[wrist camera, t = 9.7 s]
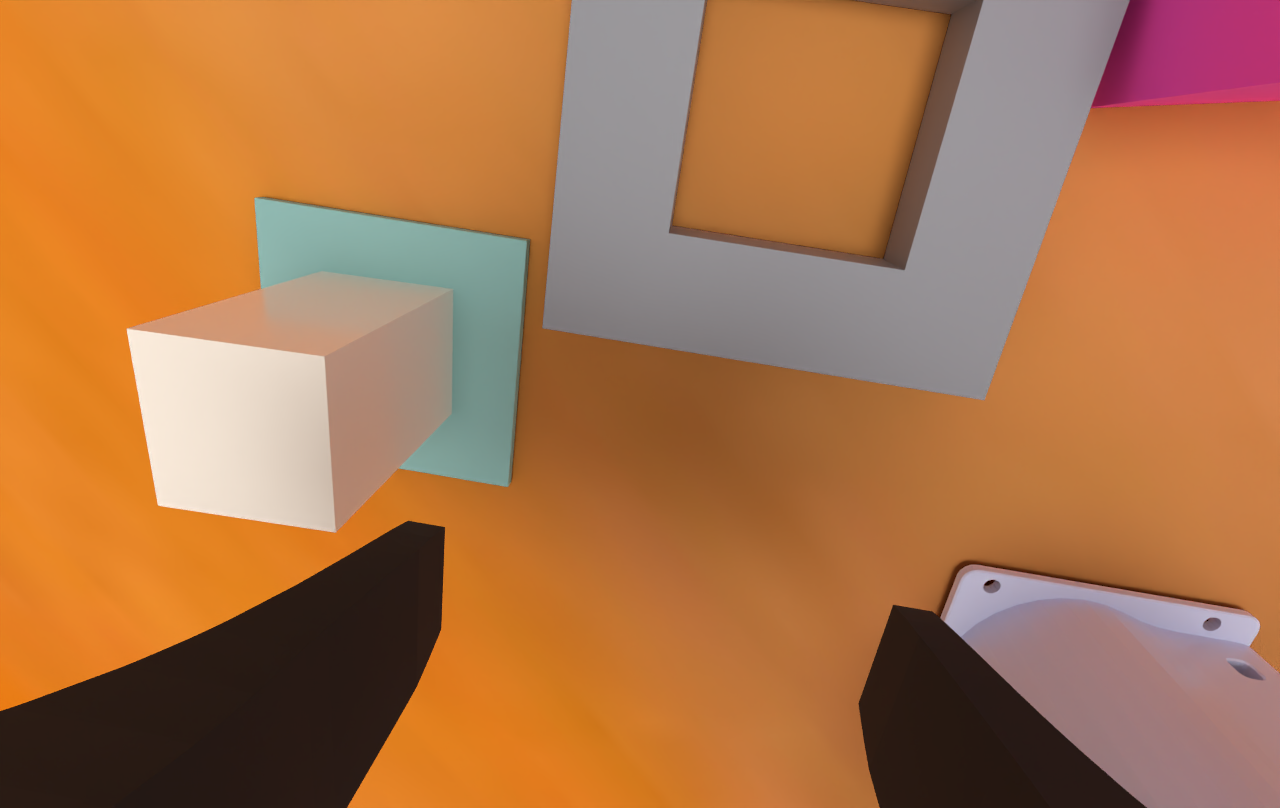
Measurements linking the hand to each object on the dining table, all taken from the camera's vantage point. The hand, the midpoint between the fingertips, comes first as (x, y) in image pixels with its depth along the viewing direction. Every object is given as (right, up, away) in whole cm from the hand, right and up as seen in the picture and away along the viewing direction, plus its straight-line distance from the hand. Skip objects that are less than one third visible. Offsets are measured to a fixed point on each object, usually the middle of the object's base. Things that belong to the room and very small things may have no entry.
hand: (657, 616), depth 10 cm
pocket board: (+4, +11, +7) cm, 13 cm away
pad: (-8, +5, +10) cm, 14 cm away
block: (-8, +5, +10) cm, 13 cm away
